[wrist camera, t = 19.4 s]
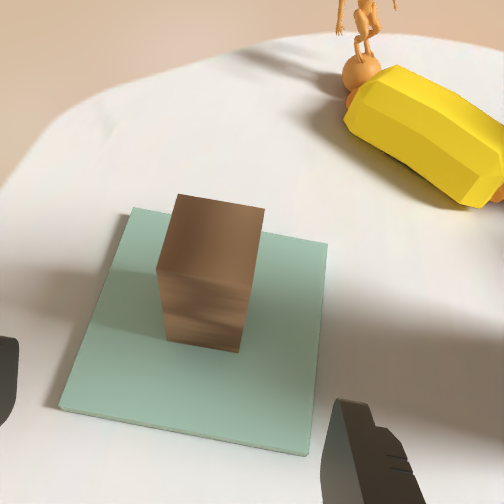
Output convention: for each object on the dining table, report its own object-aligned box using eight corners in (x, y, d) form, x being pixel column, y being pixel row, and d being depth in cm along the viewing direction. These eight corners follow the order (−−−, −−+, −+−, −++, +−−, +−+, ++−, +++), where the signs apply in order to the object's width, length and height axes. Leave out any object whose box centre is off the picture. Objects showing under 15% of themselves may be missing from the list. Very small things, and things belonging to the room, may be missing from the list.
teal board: (324, 251, 39) (327, 243, 38) (305, 456, 31) (308, 453, 30) (134, 216, 39) (133, 207, 38) (62, 410, 31) (57, 405, 30)
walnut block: (249, 289, 35) (264, 208, 27) (238, 353, 33) (252, 285, 24) (183, 278, 35) (177, 193, 27) (166, 341, 33) (155, 268, 24)
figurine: (342, 115, 48) (380, 0, 38) (302, 82, 50) (328, -35, 40) (394, 86, 52) (442, -27, 41) (355, 56, 54) (391, -58, 44)
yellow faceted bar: (480, 232, 42) (516, 186, 46) (523, 184, 36) (560, 135, 40) (321, 126, 47) (364, 92, 51) (338, 70, 42) (385, 35, 45)
